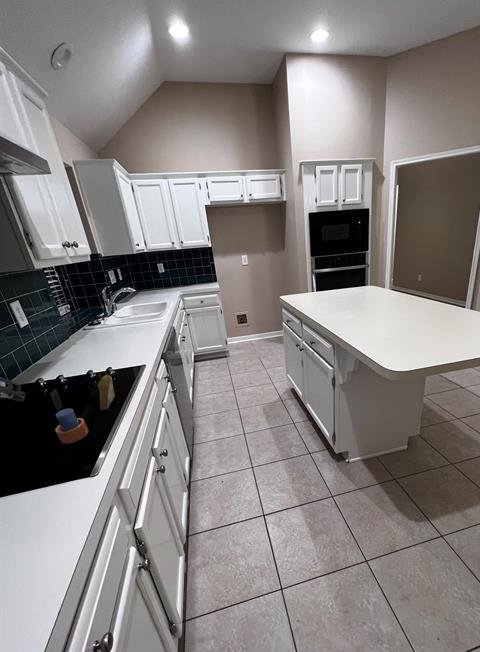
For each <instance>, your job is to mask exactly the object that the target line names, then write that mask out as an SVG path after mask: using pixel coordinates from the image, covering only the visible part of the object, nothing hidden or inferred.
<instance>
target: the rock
mask: <svg viewBox="0 0 480 652" xmlns="http://www.w3.org/2000/svg"><path fill="white" fill-rule="evenodd" d="M97 388H98V391H99V410H100V411H106V410H108V409H109V407H110V405H111V404H112V403H113V401H114V398H115V397H116V396H115V389H114V385H113V377H112V376H111V375H109V374H105V375H103V376H102V377H101V378H100V380H99V381H98V383H97Z"/></svg>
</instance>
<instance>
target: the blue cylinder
mask: <svg viewBox="0 0 480 652" xmlns="http://www.w3.org/2000/svg"><path fill="white" fill-rule="evenodd" d="M55 418H56V420H57V422H58V425H60V426H61V428H62V430H63V431H68V430H71V429H74V428H76V427H77V426H79V425H80V424H79V422H78V420H77V418H78V417H77V415H76V413H75V411H74V409H73V408H70V407H69V408H68V407H67V408H64V409H61V410H59V411H58V412H56V414H55Z"/></svg>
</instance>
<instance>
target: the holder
mask: <svg viewBox="0 0 480 652" xmlns="http://www.w3.org/2000/svg"><path fill="white" fill-rule="evenodd" d="M76 418H77V420H78V422H79V424H80V425H79V426H77V427H76V428H74V429H71V430H68V431H63V430H62V428H61V426H60V424H58V425H57V427H56V428H55V433H56V435H57V437H58V439H59V441H60V442H61V444H65V445H67V444H68V445H69V444H74V443H77V442H78V441H81V440H82V439H84V438H86V436H88V434H89V428H88V425H87V424H86V421H85V419H84V418H82V417H76Z"/></svg>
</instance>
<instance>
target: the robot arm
mask: <svg viewBox="0 0 480 652" xmlns="http://www.w3.org/2000/svg"><path fill="white" fill-rule="evenodd" d="M21 386H22V385H21V383H18V382H15V381H12V380H9V379H6V378H3V377H0V398H2V399H3V398H4V399H9V400H12V401H15V402H19V403H20V402H24V401H25V398H26V392H24V391H23V390H22V391H21Z"/></svg>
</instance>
